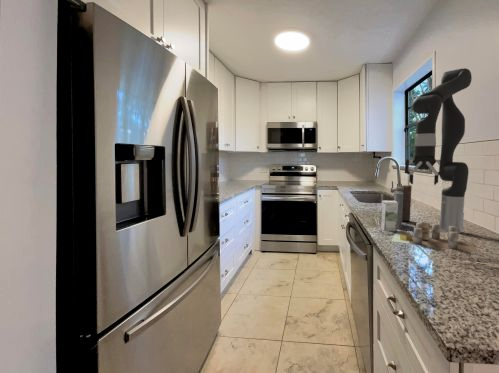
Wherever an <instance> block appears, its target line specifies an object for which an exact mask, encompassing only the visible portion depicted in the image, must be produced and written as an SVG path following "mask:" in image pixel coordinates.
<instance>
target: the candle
mask: <svg viewBox="0 0 499 373" xmlns="http://www.w3.org/2000/svg"><path fill="white" fill-rule="evenodd" d="M397 187H402V188H404V189H403V211H402V222H405V221H406V222H409V221H411V220H410V219H411V206H412V205H411V202H412V184H411V185H410V184H408V185H406V184H405V185H397Z"/></svg>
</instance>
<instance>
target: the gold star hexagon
mask: <svg viewBox="0 0 499 373" xmlns="http://www.w3.org/2000/svg"><path fill="white" fill-rule="evenodd" d="M399 234H400V239H402V240H412V233H407V232H402V233H401V232H400V233H399Z"/></svg>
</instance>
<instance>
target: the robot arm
mask: <svg viewBox="0 0 499 373" xmlns="http://www.w3.org/2000/svg"><path fill="white" fill-rule="evenodd" d="M471 83H472V72H471V70H470V69H469V68H458V69H457V68H456V69H454V70H447V71H445V72H443V73H442V75H441V80H440V84H439V85H437V86H435V87H433V89H431V90H430V91H428V92H425V93H423V94H421V95H418V96H416V97H415V99H414V100H413V101H412V105H411V108H412V111H413V112H414V113H415V114H417V115H424V114H427V116H426V117H425V118H423V119H422V118H421V119H419V120H418V121H417V122H416V125H415V126H416V128H415V139H414V155H413V156H414V157H413V159H406V160H405V166H404V174H407V175H409V176H408V177H409V179H408V180H409V181H408V182H409V183H410V184H411V185H414V173H415V172H416V171H417V170H421V171H422V170H427V171H428V170H430V171H431V172H432V173H433V174H434V178H433V180H434V182H433V185H434V186H436V185H437V184H439V178H440V179H441V180H442V181H445V182H452V184H451V186H449V187H446V188H443V189H442V190H441V202H440V215H439V216H440V217H439V218H440V219H439V225H441V227H440V232H443V233H444V232H445V233H446V232H447V233H449V226H455V227H458V229H457V232H458V233H459V234H462V233H463V232H464V231H463V230H464V221H465V220H464V219H465V218H464V217H465V213H464V212H465V211H464V210H465V209H464V208H465V195H466V191H467V186H468V181H469V166H468V164H467V163H465V162H464V161H463V162H462V161H453V160H454V155H455V154H454V153H455V151H456V148H457V146H458V145H459V144H460V142H461V141H462V139H463V137H464V135H465V134H466V118H465V116H464V115H463V113H462V111H461V110H460V108H458V106H457V105H456V103H455V102H454V98H453V95H456V94H457V93H459V92H461V91H462V90H466V89H467V88H468V87H470V86H471ZM441 110H442V112H441ZM440 112H441V114H442V115H441V116H442V117H441V147H440V148H441V150H440V159H436V144H437V142H436V139H437V138H436V130H437V129H436V125H437V120H438V119H439V118H438V117H439V115H440ZM412 163H413V164H414V167H413V168H412V169H411V171H409V168H410V165H411V164H412ZM436 163H437V165H439V168H438V170H436V168H435V167H434V165H435V164H436Z"/></svg>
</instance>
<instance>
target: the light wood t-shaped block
mask: <svg viewBox="0 0 499 373" xmlns="http://www.w3.org/2000/svg"><path fill="white" fill-rule="evenodd" d="M421 223H422V225H421V228H422V229H423V230H422V240H427V241H428V239H429V237H430V228H431V222H430V223H429V222H423V221H422V222H421Z"/></svg>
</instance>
